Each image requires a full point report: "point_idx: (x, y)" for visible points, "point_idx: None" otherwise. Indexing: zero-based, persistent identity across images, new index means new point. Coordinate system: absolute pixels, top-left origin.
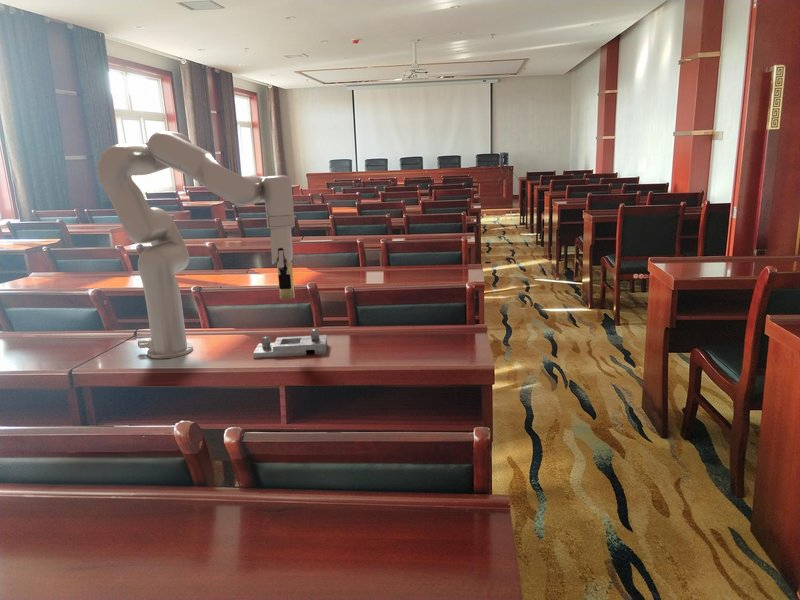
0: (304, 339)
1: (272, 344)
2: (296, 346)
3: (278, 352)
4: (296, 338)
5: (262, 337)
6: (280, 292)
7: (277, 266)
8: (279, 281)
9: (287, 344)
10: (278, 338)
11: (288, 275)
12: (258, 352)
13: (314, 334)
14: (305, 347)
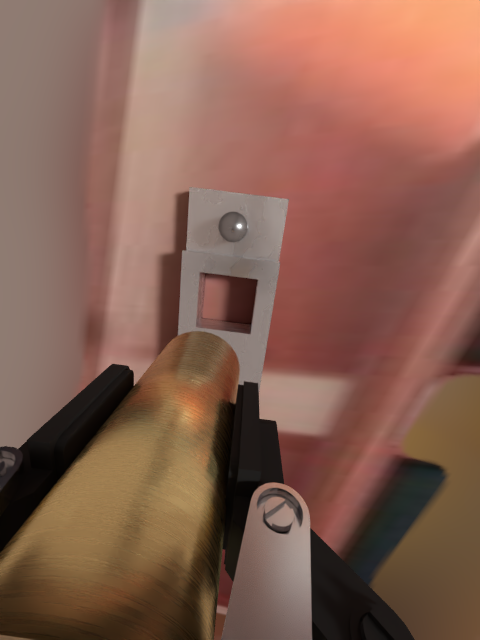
0: (231, 341)
1: (261, 246)
2: (180, 317)
3: None
4: (252, 320)
5: (237, 215)
6: (166, 351)
7: (47, 549)
8: (79, 399)
9: (194, 294)
10: (267, 267)
11: None
12: (190, 203)
13: None
14: None
